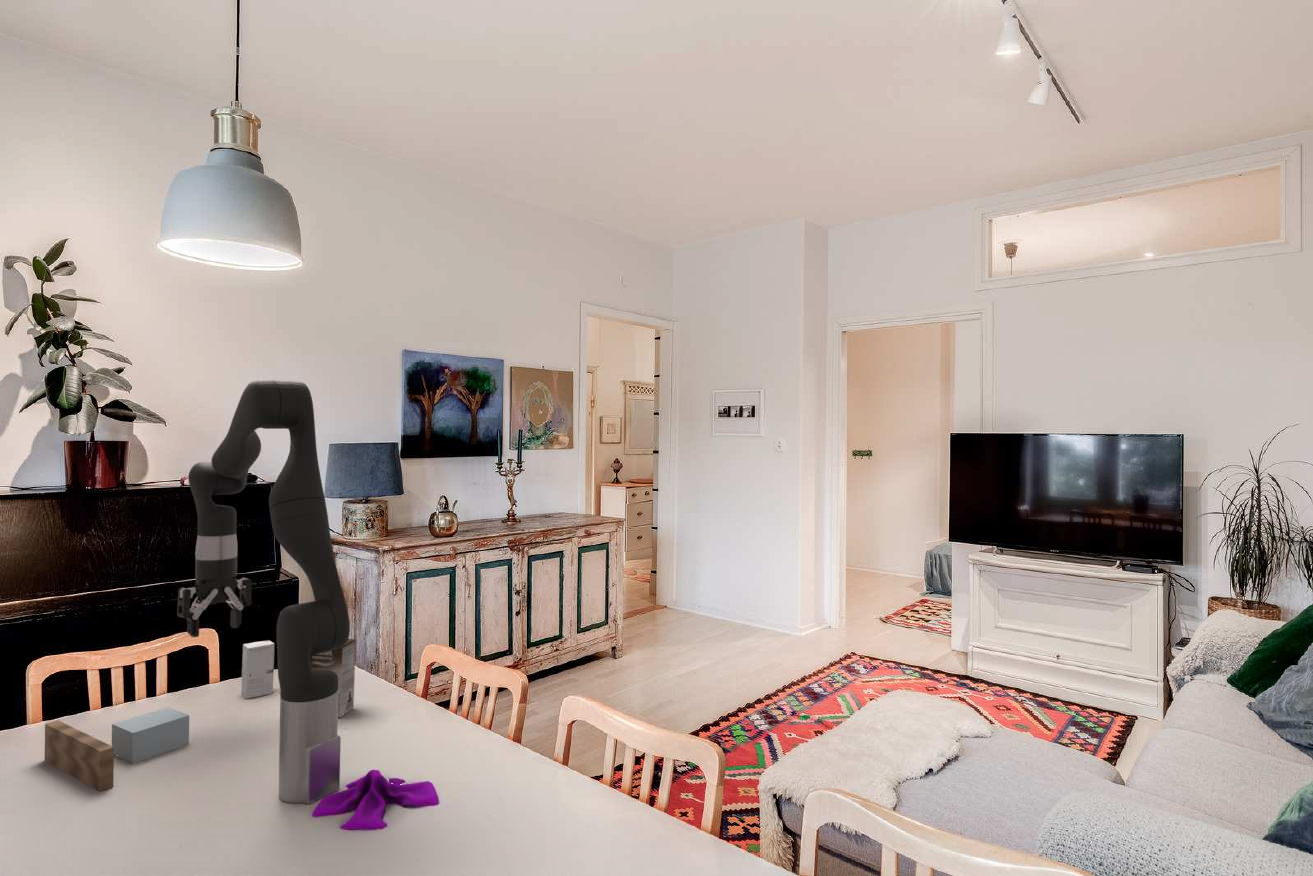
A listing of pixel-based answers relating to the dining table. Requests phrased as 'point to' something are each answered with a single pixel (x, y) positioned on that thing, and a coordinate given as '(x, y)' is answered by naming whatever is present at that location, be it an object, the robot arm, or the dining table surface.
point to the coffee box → (340, 672)
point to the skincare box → (257, 669)
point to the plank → (79, 755)
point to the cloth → (374, 800)
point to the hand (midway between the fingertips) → (215, 631)
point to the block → (150, 734)
